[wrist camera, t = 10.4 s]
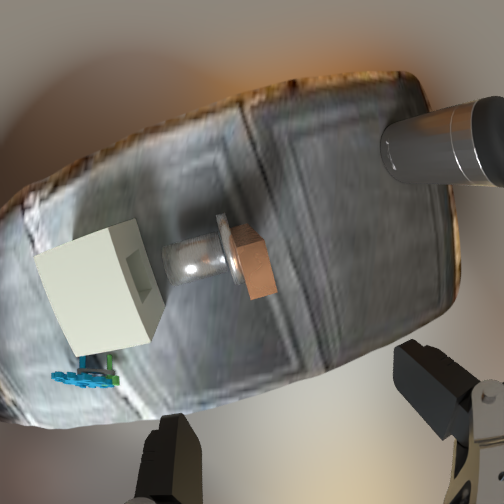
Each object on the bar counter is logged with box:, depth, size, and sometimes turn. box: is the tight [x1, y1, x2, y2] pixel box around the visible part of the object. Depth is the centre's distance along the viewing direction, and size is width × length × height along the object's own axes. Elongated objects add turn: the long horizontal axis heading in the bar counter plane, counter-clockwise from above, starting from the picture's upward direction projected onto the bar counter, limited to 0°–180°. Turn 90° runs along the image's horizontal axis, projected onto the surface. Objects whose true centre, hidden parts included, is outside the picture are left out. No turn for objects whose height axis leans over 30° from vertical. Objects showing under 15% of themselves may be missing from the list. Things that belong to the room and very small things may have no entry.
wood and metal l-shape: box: [162, 213, 277, 300], centre depth 27 cm, size 9×8×14 cm
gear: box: [51, 355, 120, 388], centre depth 33 cm, size 11×6×10 cm
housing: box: [34, 218, 165, 357], centre depth 29 cm, size 10×12×10 cm
